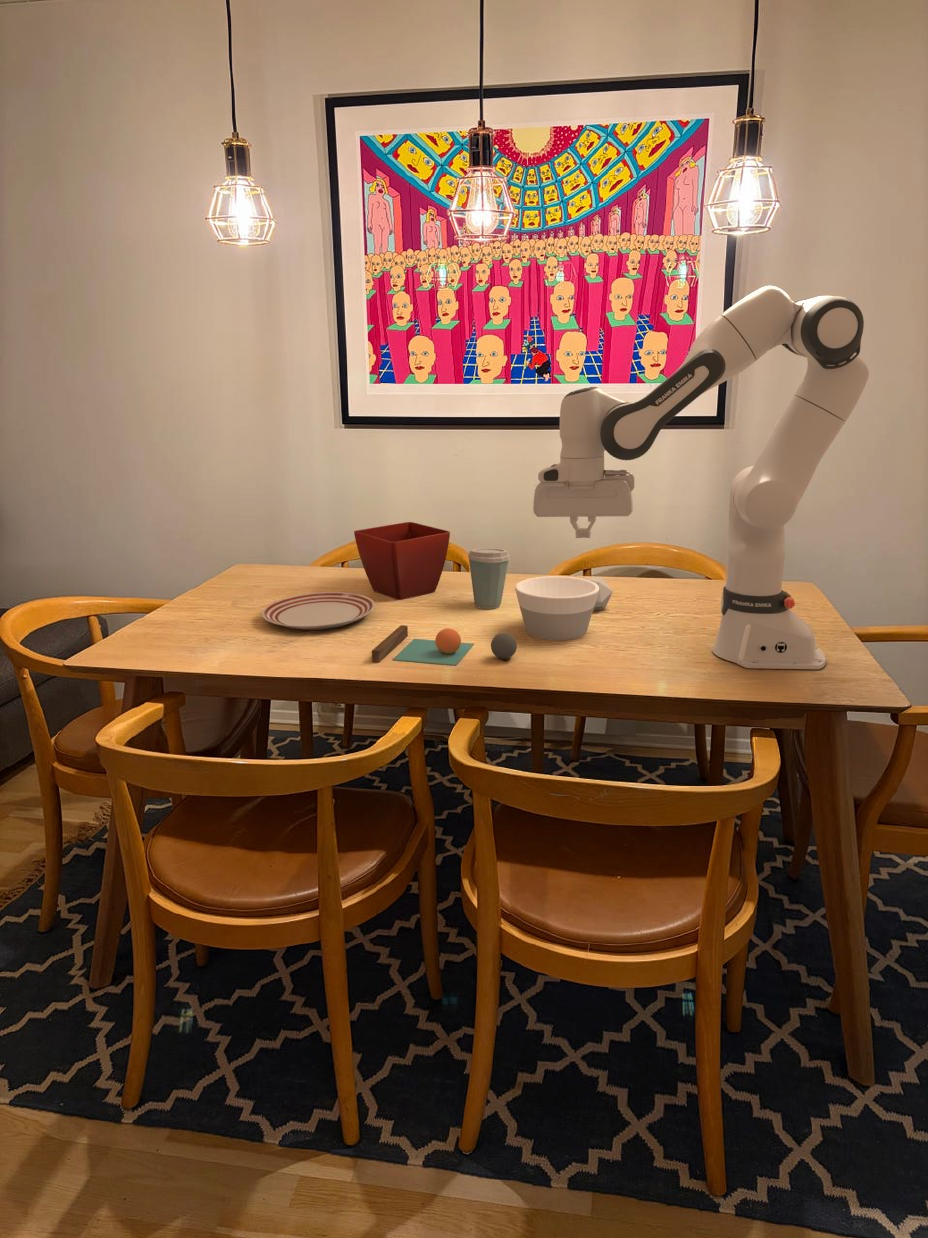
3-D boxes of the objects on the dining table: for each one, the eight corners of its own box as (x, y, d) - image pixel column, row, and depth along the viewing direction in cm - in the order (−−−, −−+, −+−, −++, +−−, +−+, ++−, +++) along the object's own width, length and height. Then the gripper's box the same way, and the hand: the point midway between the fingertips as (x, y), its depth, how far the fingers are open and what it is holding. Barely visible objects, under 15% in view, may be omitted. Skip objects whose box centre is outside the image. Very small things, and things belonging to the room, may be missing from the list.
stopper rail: (407, 636, 193) (407, 625, 192) (379, 662, 176) (378, 651, 175) (401, 635, 193) (400, 625, 192) (372, 661, 176) (371, 650, 176)
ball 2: (495, 627, 179) (492, 651, 181) (489, 635, 174) (486, 660, 176) (520, 631, 178) (517, 656, 180) (515, 639, 173) (512, 664, 175)
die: (568, 610, 213) (577, 587, 205) (579, 587, 218) (588, 563, 210) (598, 623, 212) (609, 600, 204) (608, 600, 217) (619, 576, 209)
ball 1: (449, 620, 182) (434, 637, 184) (442, 627, 177) (427, 645, 179) (468, 636, 182) (453, 654, 184) (461, 644, 177) (446, 662, 179)
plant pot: (394, 605, 216) (392, 541, 211) (355, 591, 231) (352, 530, 226) (453, 592, 228) (452, 531, 223) (411, 579, 242) (410, 521, 237)
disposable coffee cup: (466, 600, 220) (466, 544, 215) (507, 599, 220) (507, 543, 216) (469, 612, 210) (469, 553, 205) (512, 611, 210) (513, 552, 206)
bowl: (596, 646, 184) (598, 599, 181) (509, 642, 188) (510, 596, 185) (598, 620, 203) (600, 577, 199) (519, 617, 206) (519, 574, 203)
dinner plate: (309, 645, 188) (308, 630, 187) (240, 621, 206) (238, 608, 205) (398, 617, 207) (398, 604, 206) (328, 597, 225) (327, 585, 224)
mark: (473, 644, 186) (473, 643, 186) (456, 665, 174) (456, 664, 174) (414, 639, 190) (414, 638, 190) (392, 660, 177) (392, 659, 177)
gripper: (635, 467, 171) (635, 534, 175) (536, 469, 176) (538, 534, 180) (633, 471, 165) (632, 540, 169) (530, 473, 170) (532, 540, 174)
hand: (583, 537), depth 174 cm, fingers closed
